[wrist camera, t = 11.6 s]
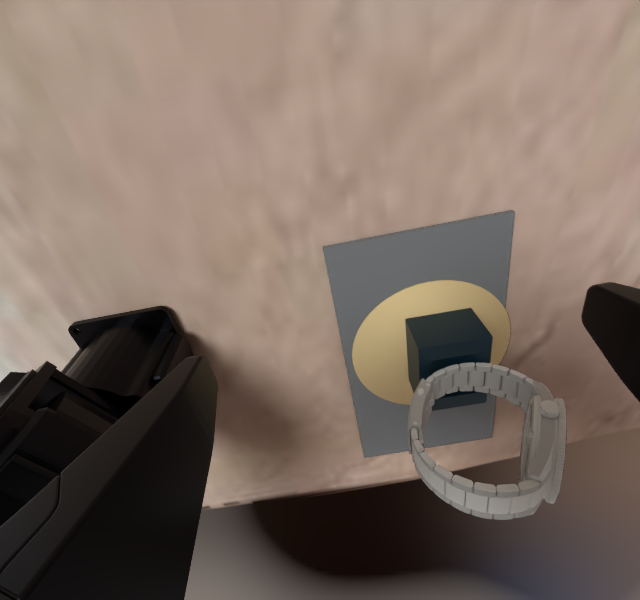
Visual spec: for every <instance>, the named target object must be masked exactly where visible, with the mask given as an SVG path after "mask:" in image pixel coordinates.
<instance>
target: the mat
mask: <svg viewBox="0 0 640 600" xmlns="http://www.w3.org/2000/svg"><path fill="white" fill-rule="evenodd" d="M514 215H515V212H514V211H513V210H510V211H505V212H500V213H494V214H489V215H484V216H479V217H474V218H469V219H463V220H458V221H453V222H448V223H443V224H437V225H432V226H427V227H422V228H417V229H412V230H406V231H401V232H396V233H391V234H386V235H381V236H375V237H370V238H365V239H360V240H355V241H349V242H344V243H339V244H334V245H329V246H324V247H323V251H324V256H325V261H326V266H327V271H328V276H329V281H330V286H331V291H332V296H333V301H334V307H335V312H336V317H337V322H338V327H339V332H340V337H341V342H342V347H343V352H344V357H345V362H346V367H347V372H348V377H349V382H350V387H351V392H352V397H353V403H354V408H355V413H356V418H357V423H358V428H359V433H360V438H361V443H362V448H363V453H364V458H366V457H373V456H379V455H385V454H392V453H398V452H404V451H409V443H408V415H409V408H410V404H411V400H412V397H413V395H414V393H413V390H412V387H411V384H410V382H409V376H408V359H407V342H406V325H405V319H407V318H413V317H419V316H425V315H431V314H437V313H443V312H448V311H454V310H460V309H466V308H472V310H473V311H474V312H475V314H476V315H477V316H478V318H479V319H480V320H481V322H482V323H483V324H484V326H485V327H486V328H487V330H488V331H489V332H490V334H491V335H492V336H493V341H492V351H491V361H490V364H492V367H493V365H494V364H495V365H500V362H501V361H502V359H503V357H504V355H505V353H506V351H507V348H508V345H509V340H510V331H511V327H510V321H509V317H508V314H507V312H506V310H505V305H506V295H507V285H508V275H509V265H510V255H511V245H512V235H513V225H514ZM495 405H496V396H495V395H492V394H490V390H489V393H487V401H486V403H480V404H474V405H467V406H461V407H454V408H448V409H441V410H435V411H432V412H431V414H430V416H429V418H428V421H427V424H426V427H425V431H424V437H423V439H424V448H429V447H436V446H442V445H448V444H455V443H461V442H467V441H474V440H480V439H486V438H492V435H493V425H494V415H495Z"/></svg>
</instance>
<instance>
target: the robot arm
mask: <svg viewBox="0 0 640 600" xmlns="http://www.w3.org/2000/svg"><path fill="white" fill-rule="evenodd" d="M159 313H162V314H164V316H161V315H159ZM582 322H583V325H584V327H585V328H586V330H587V331H588V333H589V334H590V335H591V337H592V338H593V340H594V341H595V343H596V344H597V346H598V347H599V349H600V350H601V352H602V353H603V354H604V356H605V357H606V359H607V360H608V362H609V363H610V365H611V366H612V368H613V369H614V371H615V372H616V373H617V375H618V376H619V377H620V379H621V380H622V381H623V383H624V384H625V385H626V386H627V388H628V389H629V390H630V391H631V392H632V394H633V395H634V396H635V397H636V398H637V399H638V401H639V402H640V289H638V288H634V287H630V286H626V285H621V284H617V283H613V282H608V283H602V284H596V285H593V286H591V287H590V288H589V289H588V291H587V294H586V298H585V302H584V307H583V311H582ZM76 328H77V329H79V330H80V331H79V330H77V329H76ZM68 331H69V333H70V335H71V336H72V337H73V339H74V340H75V342H76V343H77V345H78V346H79V348H80V349H79V351H78V352H77V353H76V354H75V356H74V357H73V358H72V359H71V361H70V362H69V363H68V364H67V365H66V367H65V368H64V369H63V370H62V372H60V371H59V370H57V369H56V368H57V367H56V366H55V365H53V364H51V363H50V362H48V361H46V362H45V363H44V364H43V365H42V366H40V367H39V368H38V369H37V370H36V371H34V370H33V369H32V370H31V371H30V372H27V373H19V372H10V373H9V374H8V375H7V376H6V377H5V378H4V379H3V380H2V381H1V382H0V600H184V597H185V592H186V586H187V581H188V576H189V571H190V566H191V560H192V555H193V550H194V545H195V539H196V534H197V529H198V524H199V519H200V513H201V508H202V503H203V498H204V493H205V488H206V482H207V477H208V472H209V467H210V462H211V456H212V450H213V443H214V432H215V419H216V405H217V392H218V384H217V380H216V377H215V375H214V373H213V371H212V369H211V366H210V364H209V362H208V360H207V358H206V357H205V356H203V355H197V356H194V355H193V353H192V351H191V349H190V347H189V344H188V342H187V340H186V338H185V336H184V335H183V334H182V333H180V331H179V329H178V327H177V325H176V323H175V321H174V318H173V316H172V314H171V312H170V311H169V309H168V308H166V307H164V306H157V307H151V308H146V309H141V310H135V311H130V312H125V313H120V314H114V315H109V316H104V317H98V318H93V319H88V320H82V321H77V322H74V323H73V324H72V325H71V326H70V327H69V329H68Z"/></svg>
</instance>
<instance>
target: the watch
mask: <svg viewBox="0 0 640 600" xmlns="http://www.w3.org/2000/svg"><path fill="white" fill-rule="evenodd" d="M405 325H406V342H407V359H408V376H409V382H410V384H411V387H412V390H413V393H414V395H413V397H412V400H411V404H410V408H409V415H408V443H409V454H412V457H413V462H414V464H415V468H416V470H417V472H418V474H419V475H420V476H421V479H422V480H423V481H424V483H425V484H426V485H427V486H428V487H429V488H430V489H431V490H432V491H434V493H435V494H436V495H437V496H438V497H440V498H441V499H442V500H444V501H445V502H447V503H448V504H451V505H452V506H453V507H455V508H457V509H459V510H461V511H463V512H465V513H468V514H470V513H471V509H472V515H474V516H477V517H481V518H486V519H492V518H494V519H496V520H507V519H513V518H514V517H515V518H520V517H525V516H528V515H533V514H534V513H535V511H536V510H537V509H538V507H539V505H540V504H541V502H542V500H543V499H545V501H546V502H548V503H551V504H553V503H554V502H555V501H556V499H557V497H558V494H559V493H560V486H561V481H562V476H563V471H564V463H565V454H566V441H567V418H566V407H565V403H564V400H563V399H562V398H557V397H556V398H555V399H554V398H553V396H552V394H551V392H550V391H549V390H548V388H547V387H546V386H545V385H544V384H543V383H542V382H538V381H534V380H533V379H531V378H529V377H527V376H526V375H524V374H522V373H520V372H517V371H515V370H512V369H511V370H510V369H509V368H507V367H504V366H500V365H495V364H494V365H493V367H492V364H490V361H491V351H492V341H493V336H492V335H491V334H490V332H489V331H488V330H487V328H486V327H485V326H484V324H483V323H482V322H481V320H480V319H479V318H478V316H477V315H476V314H475V312H474V311H473V310H472V308H466V309H460V310H454V311H448V312H443V313H437V314H431V315H425V316H419V317H413V318H407V319H405ZM509 370H510V371H509ZM502 376H503V378H502ZM526 377H527V378H526ZM501 383H502V386H501ZM489 390H490V394H492V395H495V396H498V397H500V398H505V397H506V400H507V401H509V402H511V403H513V404H514V405H516V406H520V408H521V409H522V410H523V411H525V412H526V414H525V420H524V427H523V435H522V444H521V454H520V467H519V482H520V483H518V486H517V485H516V484H506V485H497V487H495V486H494V485H491V484H484V483H479V482H476V483H475V484H474V487H473V482H472V481H471V480H469V479H466V478H463V477H460V476H458V475H454V476H453V474H452V473H451V472H450V471H448V470H446V469H444V468H443V467H441V466H440V465H436V463H435V461H434V460H433V459H432V458H431V457H430V456H429V455H428V454H427V453H426V452H424V439H423V437H424V431H425V427H426V424H427V421H428V418H429V416H430V414H431V412H432V411H435V410H441V409H448V408H454V407H461V406H467V405H474V404H480V403H486V401H487V393H489ZM465 494H466V501H465ZM488 497H489V498H488ZM487 503H488V505H487Z"/></svg>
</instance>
